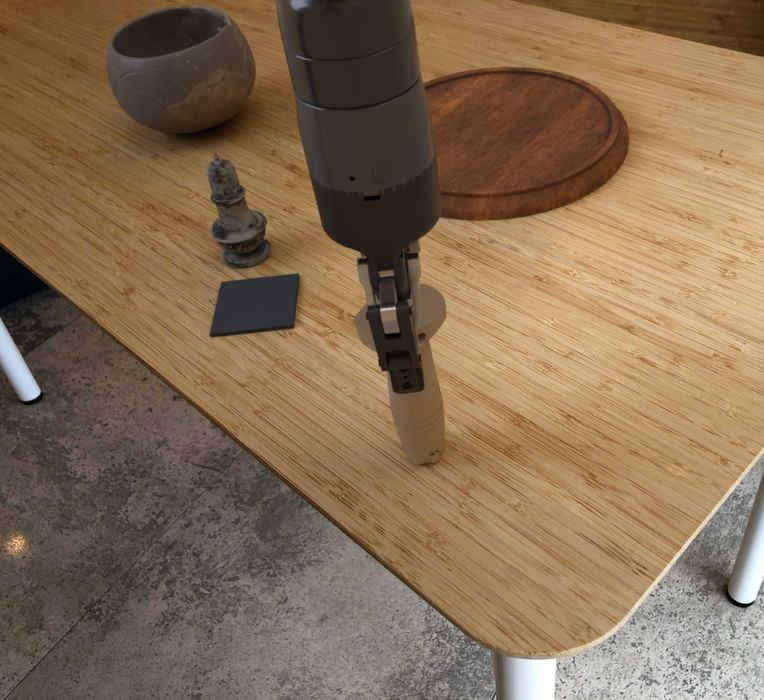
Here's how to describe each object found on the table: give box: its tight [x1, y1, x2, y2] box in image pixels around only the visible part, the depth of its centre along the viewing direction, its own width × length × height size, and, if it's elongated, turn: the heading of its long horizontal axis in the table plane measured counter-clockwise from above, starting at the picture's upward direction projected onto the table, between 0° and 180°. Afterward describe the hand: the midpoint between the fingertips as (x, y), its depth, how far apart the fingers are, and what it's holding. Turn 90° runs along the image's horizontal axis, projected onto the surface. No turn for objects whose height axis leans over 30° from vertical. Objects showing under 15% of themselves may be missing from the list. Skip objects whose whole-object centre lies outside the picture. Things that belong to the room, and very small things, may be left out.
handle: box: [353, 282, 448, 466], centre depth 63 cm, size 5×6×15 cm
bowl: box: [105, 4, 257, 134], centre depth 108 cm, size 18×18×13 cm
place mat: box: [209, 272, 301, 338], centre depth 83 cm, size 8×8×1 cm
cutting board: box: [423, 66, 630, 221], centre depth 101 cm, size 32×32×2 cm
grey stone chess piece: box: [205, 152, 273, 269], centre depth 86 cm, size 6×6×12 cm
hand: (408, 358), depth 61 cm, fingers closed on handle, 5 cm apart
